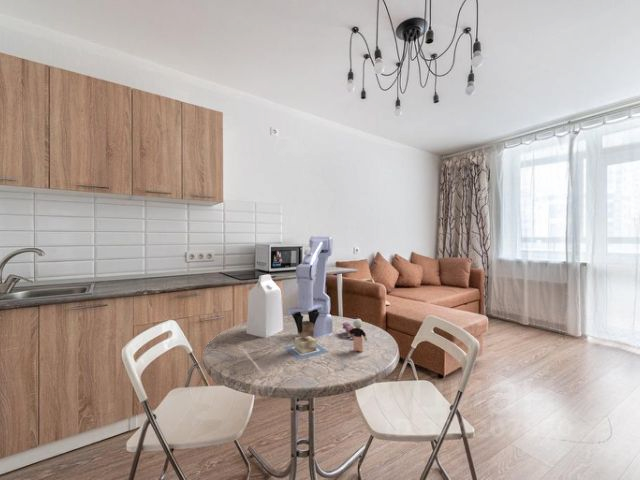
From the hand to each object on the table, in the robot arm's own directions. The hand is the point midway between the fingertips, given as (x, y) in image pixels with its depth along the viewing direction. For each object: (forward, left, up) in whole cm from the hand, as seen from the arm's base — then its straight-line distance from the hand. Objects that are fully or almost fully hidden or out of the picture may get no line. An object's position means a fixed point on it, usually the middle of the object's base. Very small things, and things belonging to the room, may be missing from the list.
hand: (305, 330), depth 110 cm
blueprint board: (0, 0, -8) cm, 8 cm away
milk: (+5, -29, -8) cm, 31 cm away
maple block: (0, 0, -7) cm, 7 cm away
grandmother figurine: (-17, +11, -8) cm, 21 cm away
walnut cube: (0, 0, -1) cm, 1 cm away
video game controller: (-25, -5, -8) cm, 26 cm away
